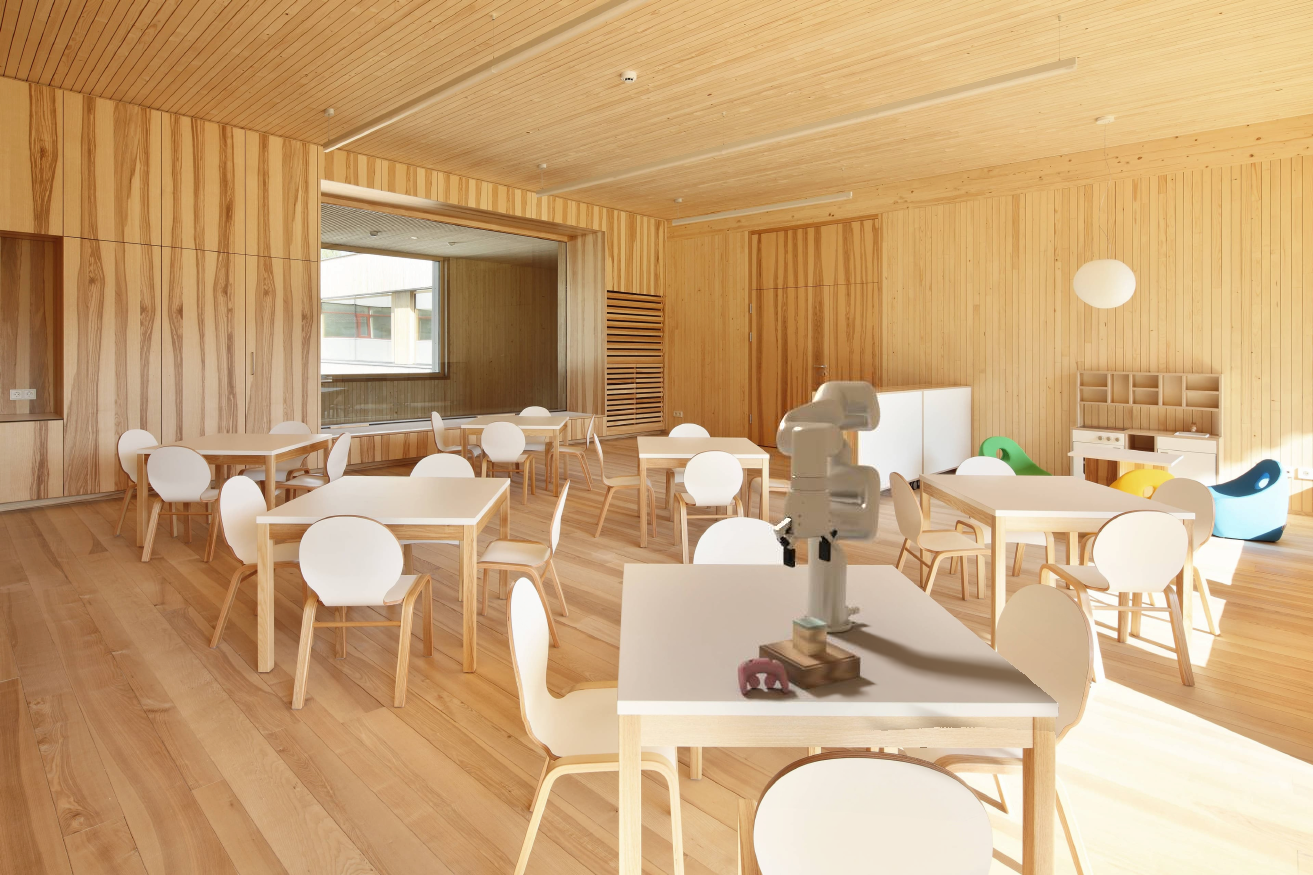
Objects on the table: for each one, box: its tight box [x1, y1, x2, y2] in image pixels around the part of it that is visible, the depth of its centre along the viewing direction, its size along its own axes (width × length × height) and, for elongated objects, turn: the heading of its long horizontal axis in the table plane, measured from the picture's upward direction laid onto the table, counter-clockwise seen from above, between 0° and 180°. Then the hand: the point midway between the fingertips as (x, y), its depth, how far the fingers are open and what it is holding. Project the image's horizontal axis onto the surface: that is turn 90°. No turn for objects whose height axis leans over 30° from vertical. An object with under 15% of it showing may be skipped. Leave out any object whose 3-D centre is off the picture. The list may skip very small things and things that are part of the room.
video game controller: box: [737, 657, 790, 695], centre depth 144 cm, size 10×5×7 cm, turn 94°
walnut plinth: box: [758, 638, 862, 690], centre depth 154 cm, size 15×15×4 cm
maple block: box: [792, 617, 828, 656], centre depth 153 cm, size 5×5×6 cm
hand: (807, 563), depth 154 cm, fingers open, 9 cm apart
